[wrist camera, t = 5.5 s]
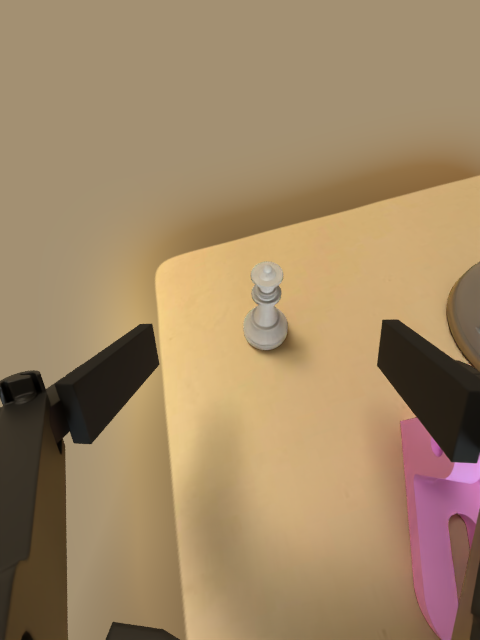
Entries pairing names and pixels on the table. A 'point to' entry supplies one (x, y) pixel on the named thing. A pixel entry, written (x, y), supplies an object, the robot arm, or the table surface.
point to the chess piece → (266, 308)
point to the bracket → (436, 520)
